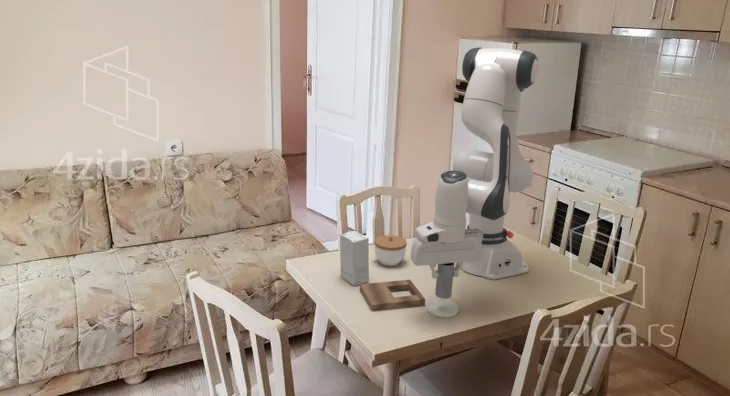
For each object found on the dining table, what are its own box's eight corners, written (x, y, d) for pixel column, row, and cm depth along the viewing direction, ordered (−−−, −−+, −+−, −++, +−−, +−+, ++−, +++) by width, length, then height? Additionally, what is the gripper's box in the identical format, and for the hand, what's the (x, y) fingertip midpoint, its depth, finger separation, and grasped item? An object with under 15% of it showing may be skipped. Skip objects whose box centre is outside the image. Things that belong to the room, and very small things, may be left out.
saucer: (450, 300, 176) (450, 298, 176) (463, 316, 168) (463, 313, 167) (421, 303, 173) (422, 301, 173) (433, 319, 165) (433, 316, 165)
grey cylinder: (441, 300, 166) (444, 266, 163) (432, 293, 170) (435, 259, 166) (454, 297, 168) (457, 263, 165) (445, 290, 172) (448, 257, 168)
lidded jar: (375, 269, 195) (377, 243, 192) (371, 256, 205) (372, 230, 202) (408, 268, 196) (409, 242, 193) (402, 255, 206) (403, 230, 203)
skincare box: (369, 282, 185) (370, 238, 181) (352, 286, 182) (354, 242, 178) (354, 272, 192) (356, 229, 187) (338, 276, 189) (339, 232, 184)
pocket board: (409, 285, 185) (410, 279, 184) (424, 305, 173) (425, 299, 172) (359, 290, 180) (360, 284, 180) (371, 311, 168) (372, 304, 168)
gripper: (478, 224, 168) (473, 268, 173) (410, 228, 163) (407, 274, 167) (488, 232, 163) (483, 278, 167) (418, 237, 157) (414, 284, 161)
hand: (444, 276), depth 167 cm, fingers closed on grey cylinder, 5 cm apart
